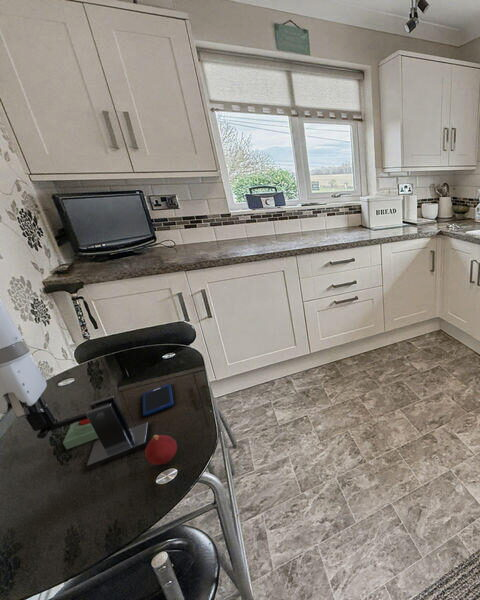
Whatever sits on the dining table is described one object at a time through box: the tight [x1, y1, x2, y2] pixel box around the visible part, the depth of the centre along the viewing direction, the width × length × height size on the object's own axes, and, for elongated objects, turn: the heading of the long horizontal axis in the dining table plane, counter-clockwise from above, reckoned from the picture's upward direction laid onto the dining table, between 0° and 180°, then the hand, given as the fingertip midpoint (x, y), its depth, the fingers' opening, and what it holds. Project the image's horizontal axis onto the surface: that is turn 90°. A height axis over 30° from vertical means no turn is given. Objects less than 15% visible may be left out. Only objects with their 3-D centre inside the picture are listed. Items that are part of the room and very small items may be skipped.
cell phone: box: [142, 383, 175, 417], centre depth 98 cm, size 7×14×1 cm, turn 38°
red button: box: [79, 419, 90, 425], centre depth 86 cm, size 4×4×2 cm
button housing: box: [62, 421, 99, 450], centre depth 87 cm, size 10×8×4 cm
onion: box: [144, 434, 178, 466], centre depth 73 cm, size 6×6×8 cm
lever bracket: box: [85, 395, 150, 470], centre depth 79 cm, size 11×9×13 cm
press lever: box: [36, 402, 110, 440], centre depth 75 cm, size 12×5×2 cm, turn 123°
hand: (45, 426), depth 72 cm, fingers closed
